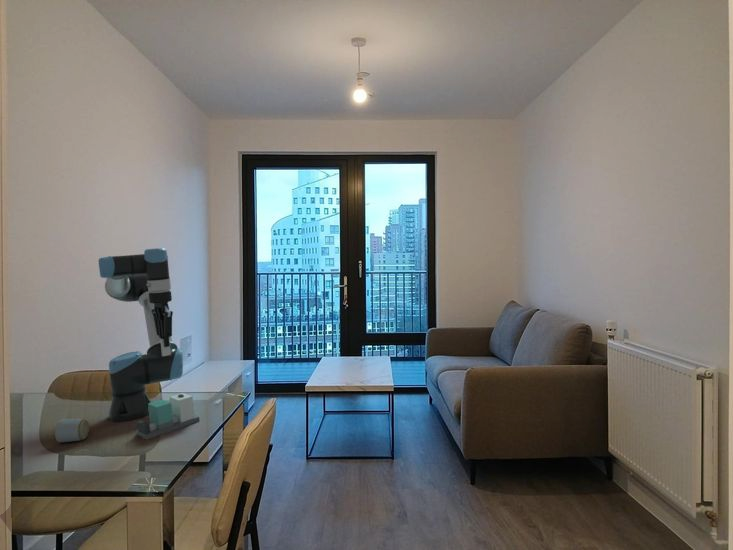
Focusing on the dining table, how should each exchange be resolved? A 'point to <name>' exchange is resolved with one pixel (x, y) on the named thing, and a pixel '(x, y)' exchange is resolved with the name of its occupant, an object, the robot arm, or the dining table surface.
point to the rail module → (160, 414)
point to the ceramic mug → (71, 430)
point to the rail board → (175, 426)
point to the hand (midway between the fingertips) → (166, 355)
